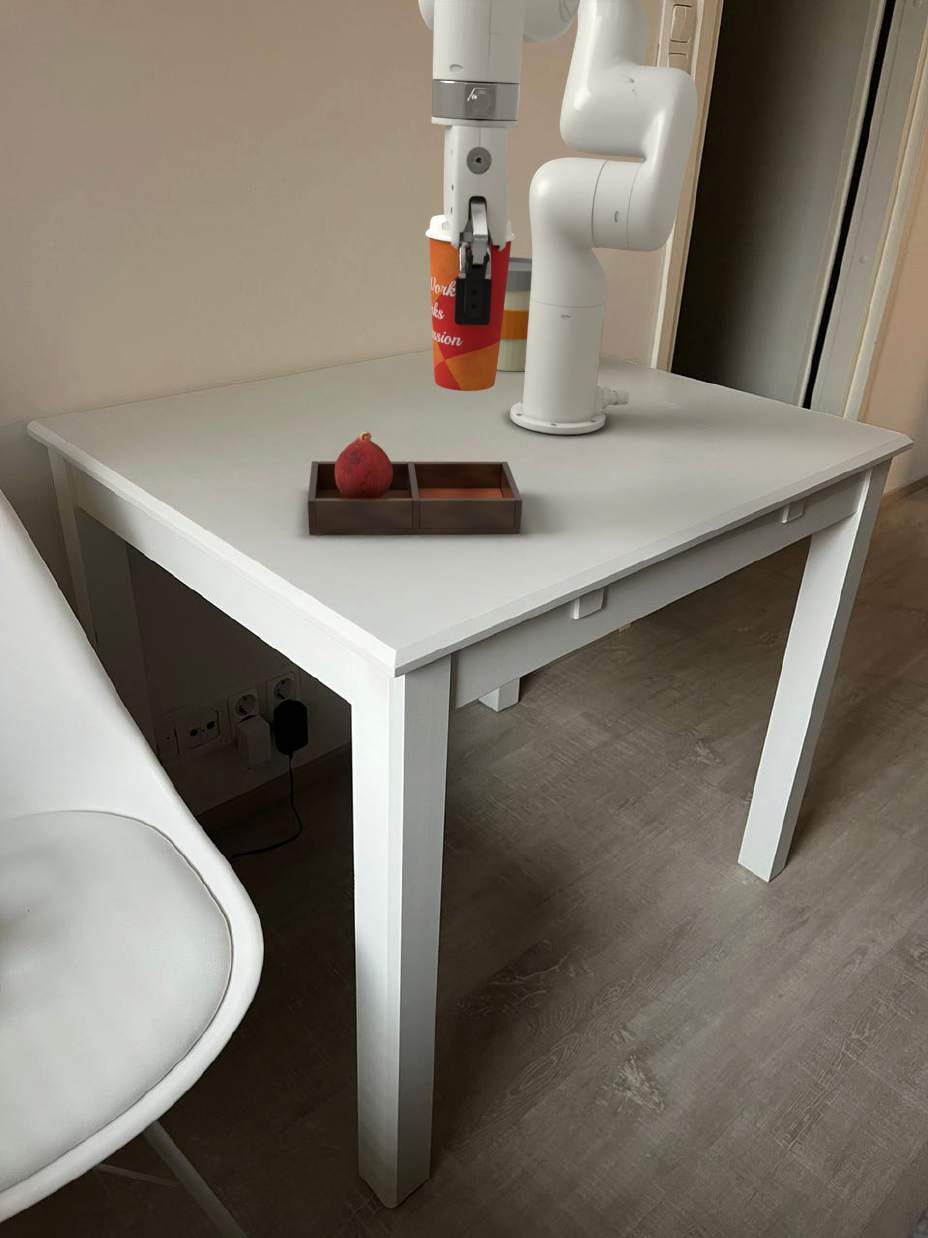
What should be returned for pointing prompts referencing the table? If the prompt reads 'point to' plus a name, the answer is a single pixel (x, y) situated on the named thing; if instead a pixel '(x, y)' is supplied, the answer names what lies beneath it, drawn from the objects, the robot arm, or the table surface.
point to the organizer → (420, 501)
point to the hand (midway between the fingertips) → (467, 312)
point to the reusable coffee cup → (515, 316)
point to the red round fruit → (363, 469)
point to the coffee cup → (457, 349)
